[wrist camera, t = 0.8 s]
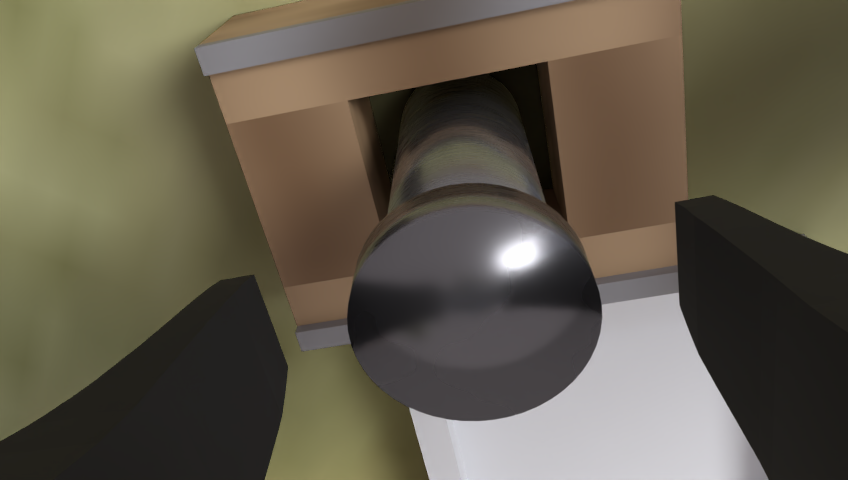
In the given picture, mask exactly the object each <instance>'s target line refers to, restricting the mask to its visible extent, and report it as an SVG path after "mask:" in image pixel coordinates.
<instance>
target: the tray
mask: <svg viewBox="0 0 848 480" xmlns="http://www.w3.org/2000/svg"><path fill="white" fill-rule="evenodd" d="M801 235H803V236H805V235H804V234H801ZM805 237H806V236H805ZM409 409H410V413H411V416H412V420H413V423H414V427H415V431H416V434H417V438H418V441H419V445H420V448H421V452H422V455H423V459H424V463H425V466H426V470H427V473H428V477H429V480H769V479H768V477H767V475H766V473H765V472H764V470H763V468H762V466H761V464H760V462H759V460H758V458H757V456H756V455H755V453H754V451H753V449H752V448H751V446H750V444H749V442H748V441H747V439H746V437H745V435H744V434H743V432H742V430H741V428H740V427H739V425H738V423H737V421H736V420H735V418H734V416H733V415H732V413H731V411H730V409H729V408H728V406H727V404H726V402H725V401H724V399H723V397H722V395H721V394H720V392H719V390H718V388H717V387H716V385H715V383H714V381H713V379H712V378H711V376H710V374H709V372H708V371H707V369H706V367H705V365H704V363H703V362H702V360H701V358H700V356H699V354H698V352H697V349H696V347H695V344H694V342H693V340H692V337H691V335H690V332H689V329H688V327H687V324H686V322H685V319H684V316H683V314H682V311H681V308H680V306H679V293H673V294H667V295H660V296H654V297H647V298H641V299H635V300H628V301H622V302H615V303H609V304H603V305H602V324H601V332H600V336H599V339H598V342H597V346H596V348H595V350H594V352H593V354H592V357H591V359H590V360H589V362H588V363H587V365H586V366H585V368H584V369H583V371H582V372H581V373H580V374H579V375H578V377H577V378H576V379H575V380H574V381H573V382H572V383H571V384H570V385H569V386H568V387H567V388H566V389H564V390H563V391H562V392H561V393H559V394H558V395H556V396H555V397H554V398H552V399H551V400H549V401H547V402H545V403H543V404H542V405H540V406H538V407H536V408H533V409H531V410H529V411H526V412H524V413H521V414H517V415H514V416H510V417H506V418H501V419H496V420H487V421H458V420H449V419H444V418H439V417H434V416H431V415H428V414H425V413H422V412H419V411H416V410H414V409H412V408H410V407H409Z"/></svg>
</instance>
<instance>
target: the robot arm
mask: <svg viewBox="0 0 848 480" xmlns="http://www.w3.org/2000/svg"><path fill="white" fill-rule="evenodd" d="M675 221H676V242H677V264H678V286H679V306H680V308H681V311H682V314H683V316H684V319H685V322H686V324H687V327H688V329H689V332H690V335H691V337H692V340H693V342H694V344H695V347H696V349H697V352H698V354H699V356H700V358H701V360H702V362H703V363H704V365H705V367H706V369H707V371H708V372H709V374H710V376H711V378H712V379H713V381H714V383H715V385H716V387H717V388H718V390H719V392H720V394H721V395H722V397H723V399H724V401H725V402H726V404H727V406H728V408H729V409H730V411H731V413H732V415H733V416H734V418H735V420H736V421H737V423H738V425H739V427H740V428H741V430H742V432H743V434H744V435H745V437H746V439H747V441H748V442H749V444H750V446H751V448H752V449H753V451H754V453H755V455H756V456H757V458H758V460H759V462H760V464H761V466H762V468H763V470H764V472H765V473H766V475H767V477H768V479H769V480H848V254H847V253H844V252H841V251H839V250H836V249H834V248H831V247H829V246H826V245H824V244H821V243H819V242H817V241H814V240H812V239H809V238H807V237H805V236H803V235H800V234H798V233H796V232H794V231H791V230H789V229H787V228H785V227H783V226H780V225H778V224H776V223H774V222H772V221H770V220H767V219H765V218H763V217H761V216H759V215H757V214H755V213H753V212H751V211H748V210H746V209H744V208H742V207H740V206H738V205H736V204H733V203H731V202H729V201H727V200H724V199H722V198H719V197H716V196H713V195H712V196H706V197H701V198H695V199H689V200H683V201H678V202H675ZM287 372H288V365H287V363H286V360H285V357H284V355H283V352H282V349H281V346H280V344H279V341H278V338H277V336H276V333H275V330H274V328H273V325H272V322H271V320H270V317H269V314H268V311H267V309H266V306H265V303H264V301H263V298H262V295H261V293H260V290H259V287H258V285H257V282H256V279H255V276H254V275H249V276H243V277H237V278H231V279H225V280H221V281H219V282H217V283H216V284H214V285H213V286H211V287H210V288H209V289H207V290H206V291H205V292H203V293H202V294H201V295H200V296H198V297H197V298H196V299H195V300H193V301H192V302H191V303H190V304H189V305H187V306H186V307H185V308H184V309H183V310H182V311H180V312H179V313H178V314H177V315H176V316H174V317H173V318H172V319H171V320H170V321H169V322H167V323H166V324H165V325H164V326H163V327H161V328H160V329H159V330H158V331H157V332H156V333H154V334H153V335H152V336H151V337H150V338H148V339H147V340H146V341H145V342H144V343H142V344H141V345H140V346H139V347H137V348H136V349H135V350H134V351H132V352H131V353H130V354H129V355H127V356H126V357H125V358H123V359H122V360H121V361H120V362H118V363H117V364H116V365H115V366H113V367H112V368H111V369H109V370H108V371H107V372H106V373H104V374H103V375H102V376H101V377H99V378H98V379H97V380H95V381H94V382H93V383H91V384H90V385H88V386H87V387H86V388H84V389H83V390H81V391H80V392H79V393H77V394H76V395H74V396H73V397H71V398H70V399H69V400H67V401H66V402H64V403H62V404H61V405H59V406H58V407H56V408H55V409H53V410H52V411H50V412H49V413H47V414H46V415H44V416H43V417H41V418H40V419H38V420H36V421H35V422H33V423H32V424H30V425H28V426H26V427H25V428H23V429H21V430H19V431H18V432H16V433H14V434H13V435H11V436H9V437H7V438H6V439H4V440H2V441H0V480H265V476H266V473H267V469H268V466H269V462H270V459H271V455H272V451H273V448H274V444H275V440H276V437H277V433H278V430H279V426H280V422H281V418H282V413H283V405H284V398H285V391H286V381H287Z"/></svg>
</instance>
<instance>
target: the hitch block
mask: <svg viewBox="0 0 848 480" xmlns="http://www.w3.org/2000/svg"><path fill="white" fill-rule="evenodd" d="M194 50H195V53H196V55H197V58H198V61H199V64H200V67H201V69H202V72H203V75H204V76H208V75H209V77H210V80H211V83H212V85H213V88H214V91H215V94H216V97H217V100H218V102H219V105H220V108H221V111H222V114H223V117H224V119H225V122H226V125H227V128H228V131H229V134H230V137H231V139H232V142H233V145H234V148H235V151H236V154H237V156H238V159H239V162H240V165H241V168H242V171H243V173H244V176H245V179H246V182H247V185H248V188H249V190H250V193H251V196H252V199H253V202H254V205H255V208H256V210H257V213H258V216H259V219H260V222H261V225H262V227H263V230H264V233H265V236H266V239H267V242H268V244H269V247H270V250H271V253H272V256H273V259H274V262H275V264H276V267H277V270H278V273H279V276H280V279H281V281H282V284H283V287H284V290H285V293H286V296H287V298H288V301H289V304H290V307H291V310H292V313H293V315H294V318H295V321H296V324H297V329H296V332H295V334H296V337H297V339H298V342H299V345H300V348H301V351H308V350H314V349H321V348H327V347H334V346H340V345H346V344H351V342H350V338H349V334H348V326H347V311H348V302H349V297H350V292H351V287H352V282H353V277H354V272H355V268H356V264H357V260H358V257H359V254H360V252H361V249H362V247H363V245H364V243H365V241H366V240H367V238H368V236H369V235H370V233H371V232H372V231H373V229H374V228H375V227H376V226H377V224H378V223H379V222H380V221H381V220H382V219H383V218H384V217H385V216H386V215H387V213H388V206H389V200H390V193H391V184H390V180H389V176H388V172H387V168H386V164H385V160H384V156H383V152H382V148H381V144H380V140H379V136H378V132H377V128H376V124H375V120H374V116H373V112H372V108H371V104H370V100H369V96H373V95H378V94H384V93H389V92H394V91H399V90H404V89H409V88H414V87H419V86H424V85H429V84H434V83H440V82H445V81H450V80H455V79H460V78H465V77H470V76H475V75H480V74H485V73H491V72H496V71H501V70H506V69H511V68H516V67H521V66H526V65H531V64H536V63H537V70H538V78H539V85H540V93H541V100H542V108H543V115H544V123H545V130H546V138H547V145H548V153H549V160H550V168H551V175H552V183H553V188H550V189H545V190H542V191H543V195H544V198H545V202H546V204H547V205H549V206H550V207H551V208H553V209H554V210H555V211H557V212H558V213H559V214H560V215H561V216H562V217H563V218H564V219H565V220H566V221H567V222H568V223H569V225H570V226H571V227H572V229H573V230H574V231H575V232H576V234H577V236H578V238H579V239H580V241H581V243H582V245H583V247H584V250H585V253H586V255H587V258H588V261H589V264H590V267H591V270H592V272H593V275H594V278H595V281H596V284H597V287H598V289H599V293H600V298H601V304H602V305H603V304H609V303H615V302H622V301H628V300H635V299H641V298H647V297H654V296H660V295H667V294H673V293H679V286H678V264H677V242H676V221H675V202H678V201H683V200H688V181H687V153H686V125H685V98H684V70H683V42H682V15H681V0H305V1H300V2H295V3H291V4H286V5H281V6H277V7H272V8H267V9H262V10H258V11H253V12H248V13H244V14H239V15H234V16H233V17H232V18H230V19H229V20H228V21H227V22H226V23H224V24H223V25H222V26H221V27H219V28H218V29H217V30H216V31H215V32H213V33H212V34H211V35H210V36H209V37H207V38H206V39H205V40H204V41H202V42H201V43H200V44H199V45H198V46H196V47H195V48H194Z"/></svg>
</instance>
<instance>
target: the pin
mask: <svg viewBox="0 0 848 480" xmlns="http://www.w3.org/2000/svg"><path fill="white" fill-rule="evenodd" d="M601 324H602V304H601V298H600V293H599V289H598V287H597V284H596V281H595V278H594V275H593V272H592V270H591V267H590V264H589V261H588V258H587V255H586V253H585V250H584V247H583V245H582V243H581V241H580V239H579V238H578V236H577V234H576V232H575V231H574V230H573V229H572V227H571V226H570V225H569V223H568V222H567V221H566V220H565V219H564V218H563V217H562V216H561V215H560V214H559V213H558V212H557V211H555V210H554V209H553V208H551V207H550V206H549V205H547V204H546V202H545V198H544V195H543V191H542V188H541V185H540V181H539V178H538V174H537V171H536V167H535V164H534V160H533V157H532V154H531V150H530V147H529V143H528V140H527V136H526V133H525V129H524V126H523V122H522V119H521V116H520V112H519V109H518V106H517V104H516V101H515V100H514V98H513V96H512V95H511V93H510V92H509V90H508V89H507V88H506V87H505V86H504V85H503V84H502V83H500V82H499V81H498V80H497V79H495V78H493V77H492V76H490V75H488V74H480V75H475V76H470V77H465V78H460V79H455V80H450V81H445V82H440V83H434V84H429V85H424V86H419V87H417V88H416V89H415V90H414V92H413V93H412V94H411V96H410V97H409V99H408V101H407V103H406V105H405V107H404V110H403V114H402V118H401V125H400V132H399V139H398V145H397V152H396V159H395V166H394V172H393V179H392V186H391V193H390V200H389V206H388V213H387V215H386V216H385V217H384V218H383V219H382V220H381V221H380V222H379V223H378V224H377V226H376V227H375V228H374V229H373V231H372V232H371V233H370V235H369V236H368V238H367V240H366V241H365V243H364V245H363V247H362V249H361V252H360V254H359V257H358V260H357V264H356V268H355V272H354V277H353V282H352V287H351V292H350V297H349V302H348V311H347V326H348V334H349V338H350V342H351V346H352V348H353V351H354V353H355V356H356V358H357V360H358V361H359V363H360V365H361V366H362V368H363V370H364V371H365V372H366V373H367V375H368V376H369V377H370V379H371V380H372V381H373V382H374V383H375V384H376V385H377V386H378V387H379V388H380V389H381V390H383V391H384V392H385V393H387V394H388V395H389V396H391V397H392V398H393V399H395V400H397V401H398V402H400V403H402V404H404V405H405V406H407V407H410V408H412V409H414V410H416V411H419V412H422V413H425V414H428V415H431V416H434V417H439V418H444V419H449V420H458V421H487V420H496V419H501V418H506V417H510V416H514V415H517V414H521V413H524V412H526V411H529V410H531V409H533V408H536V407H538V406H540V405H542V404H543V403H545V402H547V401H549V400H551V399H552V398H554V397H555V396H556V395H558V394H559V393H561V392H562V391H563V390H564V389H566V388H567V387H568V386H569V385H570V384H571V383H572V382H573V381H574V380H575V379H576V378H577V377H578V375H579V374H580V373H581V372H582V371H583V369H584V368H585V366H586V365H587V363H588V362H589V360H590V359H591V357H592V354H593V352H594V350H595V348H596V346H597V342H598V339H599V336H600V332H601Z"/></svg>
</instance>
